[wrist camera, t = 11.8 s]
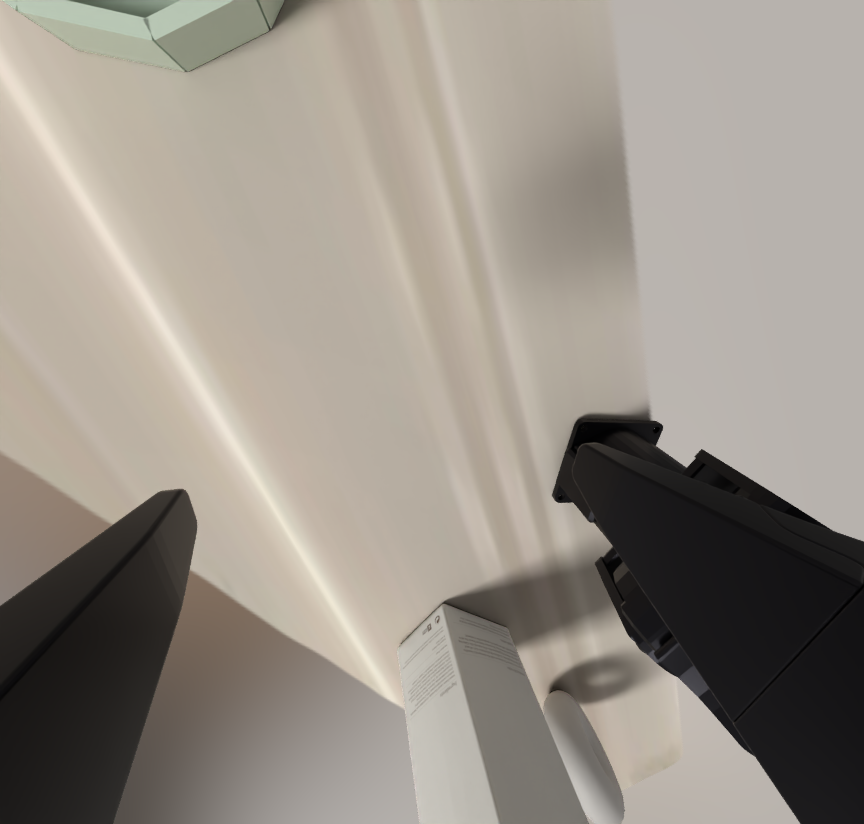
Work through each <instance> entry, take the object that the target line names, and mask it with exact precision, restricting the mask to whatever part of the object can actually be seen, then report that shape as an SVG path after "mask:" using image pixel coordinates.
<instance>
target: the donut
mask: <svg viewBox="0 0 864 824" xmlns="http://www.w3.org/2000/svg"><path fill="white" fill-rule="evenodd" d="M543 710H544V717H545V720H546V722H547V724H548V727H549V729H550V732H551V734H552V736H553V739H554V741H555V744H556V746H557V748H558V751H559V753H560V756H561V758H562V760H563V763H564V765H565V768H566V770H567V772H568V775H569V777H570V780H571V782H572V784H573V787H574V789H575V791H576V794H577V796H578V799H579V801H580V803H581V806H582V808H583V811H584V813H585V814H586V815H587V816H588V817H589V818H590V820H591V821H592V822H593V823H594V824H621V822H622V820H623V818H624V811H625V810H624V802H623V796H622V793H621V789H620V786H619V783H618V781H617V778H616V776H615V773H614V771H613V769H612V766H611V764H610V762H609V760H608V757H607V755H606V753H605V751H604V749H603V747H602V745H601V743H600V741H599V739H598V737H597V735H596V733H595V731H594V729H593V727H592V726H591V724H590V722H589V720H588V718H587V717H586V715H585V713H584V712H583V710H582V709H581V707H580V705H579V704H578V703H577V702H576V700H575V699H574V698H573V697H572V696H571V695H569V694H568V693H566V692H564V691H561V690H556V691H553V692H551V693H550V694H549V695H548V696H547V698H546V700H545V702H544V706H543Z"/></svg>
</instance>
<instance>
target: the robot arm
mask: <svg viewBox="0 0 864 824" xmlns="http://www.w3.org/2000/svg"><path fill="white" fill-rule="evenodd" d="M583 425H584V427H583V428H582V429H581V427H582V426H583ZM653 429H654V430H653ZM662 430H663V426H662V424H660V423H659V422H657V421H641V420H605V419H580V420H578V421H577V422H576V423H575V425H574V427H573V430H572V434H571V437H570V440H569V443H568V446H567V449H566V452H565V455H564V458H563V461H562V464H561V467H560V471H559V474H558V477H557V480H556V484H555V487H554V490H553V494H552V496H553V498H554V500H555V501H556V502H558V503H571V502H573V503H574V504H575V505H576V506H577V508H578V509H579V510H580V511H581V513H582V514H583V515H584V516H585V517H586V519H587V520H588V521H589V522H590V523H592V522H594V523H595V524H596V526H597V527H598V528H599V529H600V531H601V532H602V533H603V534H604V535H605V537H606V538H607V539H608V540H609V542H610V543H611V544H612V546H613V547H612V548H611V549H610V550H609V551H608V552H607V553H606V554H605V555H604V556H603V557H600V558H599V559H598V560H597V561H596V562H595V565H596V567H597V569H598V571H599V574H600V576H601V579H602V581H603V583H604V585H605V587H606V589H607V591H608V594H609V596H610V598H611V600H612V602H613V604H614V606H615V608H616V611H617V613H618V615H619V617H620V619H621V621H622V623H623V626H624V628H625V630H626V632H627V634H628V635H629V637H630V638H631V639H632V640H633V641H635V642H636V645H637V646H638V648H639V649H640V650H641V651H642V652H644V653H646V654H647V655H648V656H649V657H650V658H652V659H653V660H654V661H655V662H656V663H657V664H658V665H659V666H661V667H662V668H663V669H665V670H666V671H667V672H669V673H671V674H672V675H674V676H676V677H678V678H679V679H680V680H681V681H682V682H683V683H684V684H685V685H687V686H688V687H689V689H690V690H691V691H693V692H694V693H695V694H696V695H697V696H698V697H699V699H700V700H701V701H702V702H703V703H704V704H705V705H706V706H707V707H708V709H709V710H710V711H711V712H712V713H713V714H714V715H715V716H716V717H717V719H718V720H719V721H720V722H721V723H722V725H723V726H724V727H725V728H726V729H727V730H728V731H729V733H730V734H731V735H732V736H733V737H734V738H735V740H736V741H737V742H738V743H739V744H740V745H741V746H742V747H743V748H744V749H745V750H746V751H747V752H749V753H750V754H752V755H754V756H755V757H756V759H757V760H758V762H759V763H760V765H761V766H762V768H763V769H764V770H765V772H766V773H767V775H768V776H769V778H770V779H771V781H772V782H773V784H774V785H775V787H776V788H777V790H778V791H779V793H780V794H781V796H782V797H783V799H784V800H785V802H786V803H787V804H788V806H789V807H790V809H791V810H792V812H793V813H794V815H795V816H796V818H797V819H798V821H799V822H800V824H864V542H863V541H861V540H857V539H855V538H852V537H849V536H846V535H843V534H840V533H837V532H834V531H832V530H831V529H829V528H827V527H826V526H825V525H823V524H821V523H820V522H818V521H817V520H815V519H814V518H812V517H810V516H809V515H807V514H805V513H804V512H802V511H801V510H799V509H798V508H796V507H794V506H793V505H791V504H790V503H788V502H786V501H785V500H783V499H781V498H780V497H778V496H777V495H775V494H774V493H772V492H770V491H769V490H767V489H766V488H764V487H762V486H761V485H759V484H758V483H756V482H754V481H753V480H751V479H749V478H748V477H746V476H745V475H743V474H741V473H740V472H738V471H737V470H735V469H733V468H732V467H730V466H728V465H727V464H725V463H724V462H722V461H720V460H719V459H717V458H715V457H714V456H712V455H710V454H709V453H707V452H706V451H704V450H702V449H701V450H700V451H699V453H698V454H697V455H696V456H695V457H696V459H695V460H694V461H693V462H692V463H691V464H690V465H689V466H688V467H687V468H686V467H685V466H683V465H682V464H680V463H679V462H678V461H676V460H675V459H673V458H672V457H671V456H669V455H668V454H666V453H665V452H663V451H662V450H661V449H659V448H658V447H656V444H657V442H658V439H659V437H660V435H661V432H662ZM559 495H560V496H559ZM196 533H197V520H196V516H195V513H194V510H193V507H192V504H191V501H190V498H189V495H188V493H187V492H186V490H184V489H174V490H165V491H160V492H158V493H157V494H155V495H154V496H152V497H151V498H149V499H148V500H147V501H145V502H144V503H143V504H141V505H140V506H138V507H137V508H136V509H134V510H133V511H131V512H130V513H129V514H127V515H126V516H124V517H123V518H122V519H120V520H119V521H118V522H116V523H115V524H113V525H112V526H111V527H109V528H108V529H106V530H105V531H104V532H102V533H101V534H99V535H98V536H97V537H95V538H94V539H92V540H91V541H90V542H88V543H87V544H86V545H84V546H83V547H81V548H80V549H79V550H77V551H76V552H74V553H73V554H72V555H70V556H69V557H67V558H66V559H65V560H63V561H62V562H61V563H59V564H58V565H56V566H55V567H54V568H52V569H51V570H49V571H48V572H47V573H45V574H44V575H42V576H41V577H40V578H38V579H37V580H35V581H34V582H33V583H31V584H30V585H29V586H27V587H26V588H24V589H23V590H22V591H20V592H19V593H17V594H16V595H15V596H13V597H12V598H11V599H9V600H8V601H6V602H5V603H4V604H2V605H1V606H0V824H113V823H114V820H115V817H116V814H117V810H118V807H119V804H120V801H121V798H122V795H123V791H124V788H125V785H126V782H127V779H128V776H129V773H130V770H131V767H132V763H133V760H134V757H135V754H136V751H137V748H138V744H139V741H140V738H141V735H142V732H143V729H144V726H145V723H146V719H147V716H148V713H149V710H150V707H151V704H152V700H153V697H154V694H155V691H156V688H157V685H158V682H159V679H160V675H161V672H162V669H163V665H164V663H165V660H166V656H167V653H168V650H169V647H170V644H171V641H172V638H173V635H174V631H175V628H176V625H177V622H178V619H179V615H180V612H181V609H182V605H183V600H184V596H185V591H186V585H187V580H188V575H189V570H190V565H191V560H192V554H193V549H194V544H195V539H196Z"/></svg>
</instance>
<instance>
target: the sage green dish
mask: <svg viewBox="0 0 864 824" xmlns="http://www.w3.org/2000/svg"><path fill="white" fill-rule="evenodd" d="M2 1H4V2H5V3H6V4H8V5H9V6H10V7H12V8H13V9H15V10H16V11H18V12H19V13H21V14H22V15H24V16H25V17H27V18H28V19H30V20H31V21H33V22H34V23H36V24H37V25H39V26H40V27H42V28H44V29H45V30H47V31H48V32H50V33H51V34H53V35H54V36H56V37H57V38H59V39H60V40H62V41H63V42H65V43H66V44H68V45H69V46H71V47H73V48H75V49H76V50H80V51H84V52H89V53H94V54H99V55H104V56H109V57H114V58H119V59H124V60H129V61H133V62H138V63H143V64H148V65H153V66H158V67H163V68H168V69H173V70H177V71H182V72H185V70H186V71H187V72H189V71H191V70H193V69H195V68H197V67H199V66H201V65H203V64H205V63H207V62H209V61H211V60H213V59H215V58H217V57H218V56H220V55H222V54H224V53H226V52H228V51H230V50H232V49H234V48H236V47H238V46H240V45H242V44H244V43H246V42H248V41H250V40H252V39H254V38H256V37H258V36H260V35H262V34H264V33H266V32H268V31H269V28H270V29H271V28H272V26H273V24H274V22H275V20H276V18H277V15H278V13H279V11H280V9H281V7H282V5H283V2H284V0H2ZM268 27H269V28H268Z"/></svg>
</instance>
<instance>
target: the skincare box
mask: <svg viewBox="0 0 864 824" xmlns="http://www.w3.org/2000/svg"><path fill="white" fill-rule="evenodd" d="M397 653H398V661H399V668H400V677H401V684H402V692H403V699H404V707H405V715H406V722H407V730H408V737H409V746H410V754H411V761H412V769H413V777H414V785H415V792H416V801H417V807H418V816H419V823H420V824H589V823H588V821H587V818H586V815H585V813H584V811H583V808H582V806H581V803H580V801H579V799H578V796H577V794H576V791H575V789H574V787H573V784H572V782H571V780H570V777H569V775H568V772H567V770H566V768H565V765H564V763H563V760H562V758H561V756H560V753H559V751H558V748H557V746H556V744H555V741H554V739H553V736H552V734H551V732H550V729H549V727H548V724H547V722H546V720H545V717H544V715H543V712H542V710H541V708H540V705H539V703H538V700H537V698H536V696H535V693H534V691H533V689H532V686H531V684H530V681H529V679H528V677H527V674H526V672H525V669H524V667H523V665H522V662H521V660H520V657H519V655H518V652H517V650H516V648H515V645H514V643H513V640H512V638H511V636H510V633H509V630H508V628H506V627H504V626H501V625H498V624H496V623H493V622H491V621H488V620H485V619H483V618H480V617H477V616H475V615H472V614H470V613H467V612H464V611H462V610H459V609H457V608H454V607H452V606H449V605H446V604H442V605H441V606H440V607H439V608H437V609H436V610H435V611H434V612H433V613H432V614H431V615H430V616H429V617H428V618H427V619H426V620H425V621H424V622H423V623H422V624H421V625H420V626H419V627H418V628H417V629H416V630H415V631H414V632H413V633H412V634H411V635H410V636H409V637H408V638H407V639H406V640H405V641H404V642H403V643H402V644H401V645H400V646H399V648H398V649H397Z"/></svg>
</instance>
